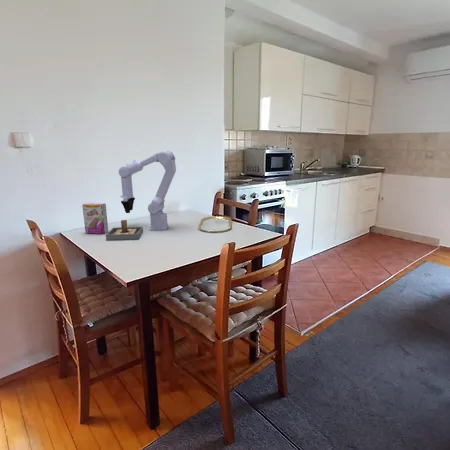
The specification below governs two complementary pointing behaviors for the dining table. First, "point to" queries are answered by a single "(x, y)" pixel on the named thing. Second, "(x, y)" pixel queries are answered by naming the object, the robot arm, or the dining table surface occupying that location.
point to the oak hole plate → (130, 231)
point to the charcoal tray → (112, 236)
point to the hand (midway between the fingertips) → (129, 211)
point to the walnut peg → (124, 226)
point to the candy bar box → (95, 218)
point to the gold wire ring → (214, 218)
